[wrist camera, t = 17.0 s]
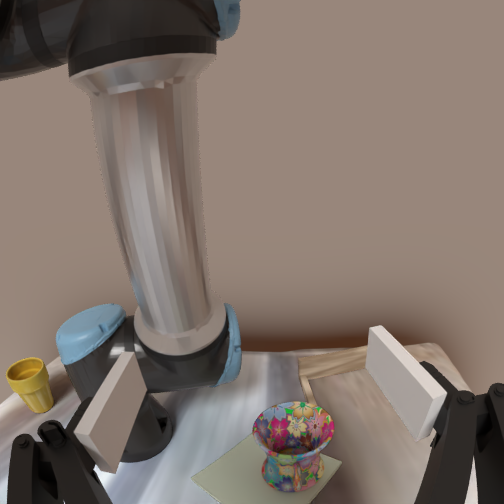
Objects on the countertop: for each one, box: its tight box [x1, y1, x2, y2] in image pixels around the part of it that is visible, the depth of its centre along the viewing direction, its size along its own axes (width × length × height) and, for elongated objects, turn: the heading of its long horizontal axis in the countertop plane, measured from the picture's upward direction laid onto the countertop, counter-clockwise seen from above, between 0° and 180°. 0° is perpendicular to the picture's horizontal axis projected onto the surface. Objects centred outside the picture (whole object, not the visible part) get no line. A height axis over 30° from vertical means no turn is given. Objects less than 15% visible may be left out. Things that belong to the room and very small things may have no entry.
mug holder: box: [298, 345, 368, 405], centre depth 44 cm, size 18×19×5 cm
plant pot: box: [6, 357, 54, 413], centre depth 40 cm, size 10×10×10 cm
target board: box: [191, 433, 342, 504], centre depth 29 cm, size 15×15×1 cm
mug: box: [253, 402, 334, 492], centre depth 27 cm, size 12×9×11 cm
